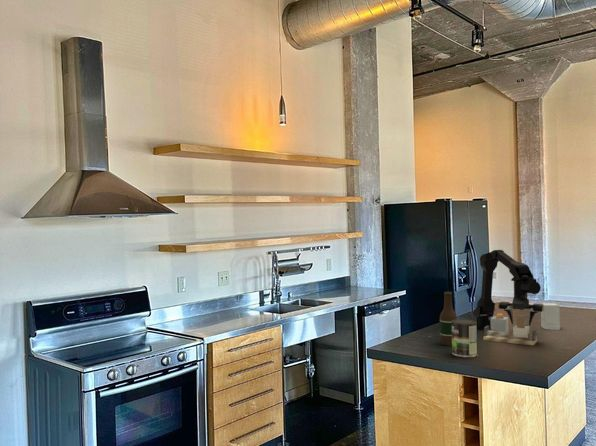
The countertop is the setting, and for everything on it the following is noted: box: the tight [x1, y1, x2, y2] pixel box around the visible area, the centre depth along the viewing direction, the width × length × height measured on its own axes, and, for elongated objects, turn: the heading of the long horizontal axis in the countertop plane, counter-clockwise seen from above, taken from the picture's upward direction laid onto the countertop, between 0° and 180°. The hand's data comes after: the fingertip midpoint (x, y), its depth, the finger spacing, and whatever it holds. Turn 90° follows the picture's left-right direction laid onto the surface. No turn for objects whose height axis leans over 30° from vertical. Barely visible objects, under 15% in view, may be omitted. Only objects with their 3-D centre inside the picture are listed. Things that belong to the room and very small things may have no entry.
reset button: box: [495, 312, 504, 319], centre depth 253 cm, size 3×3×3 cm
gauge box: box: [490, 315, 510, 333], centre depth 253 cm, size 7×7×8 cm
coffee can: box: [451, 318, 478, 358], centre depth 216 cm, size 10×10×14 cm
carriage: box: [512, 315, 530, 338], centre depth 236 cm, size 6×6×9 cm
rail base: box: [482, 326, 538, 346], centre depth 239 cm, size 22×10×6 cm, turn 57°
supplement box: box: [540, 302, 561, 331], centre depth 264 cm, size 7×7×13 cm
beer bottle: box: [439, 291, 458, 347], centre depth 235 cm, size 8×8×24 cm
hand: (521, 324), depth 236 cm, fingers open, 7 cm apart
